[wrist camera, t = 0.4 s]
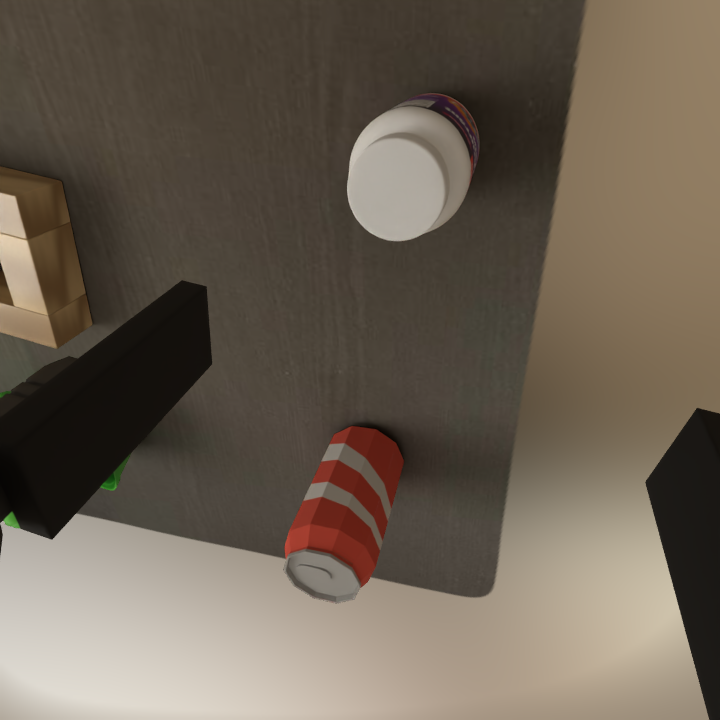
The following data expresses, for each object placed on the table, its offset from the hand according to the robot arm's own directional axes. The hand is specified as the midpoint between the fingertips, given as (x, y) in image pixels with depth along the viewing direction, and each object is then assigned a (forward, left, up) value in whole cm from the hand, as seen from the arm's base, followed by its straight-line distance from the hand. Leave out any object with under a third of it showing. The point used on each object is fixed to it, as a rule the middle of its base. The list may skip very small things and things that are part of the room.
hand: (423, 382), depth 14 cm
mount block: (+11, -34, -18) cm, 40 cm away
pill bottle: (-2, -3, -18) cm, 19 cm away
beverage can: (+22, -3, -18) cm, 28 cm away
